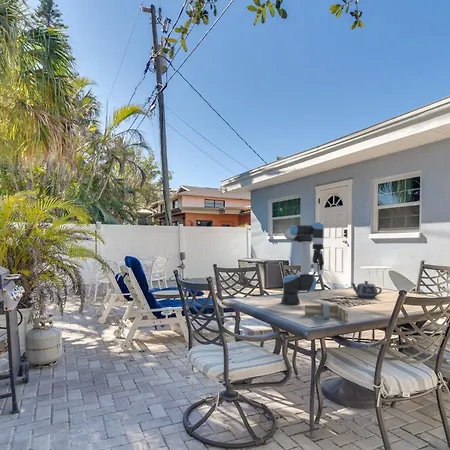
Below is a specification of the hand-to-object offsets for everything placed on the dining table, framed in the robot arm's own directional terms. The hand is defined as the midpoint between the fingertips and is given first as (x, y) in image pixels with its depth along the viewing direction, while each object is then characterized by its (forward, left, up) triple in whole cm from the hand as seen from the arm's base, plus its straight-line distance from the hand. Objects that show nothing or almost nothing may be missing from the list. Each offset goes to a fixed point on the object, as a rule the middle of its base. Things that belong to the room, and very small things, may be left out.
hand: (317, 273), depth 237 cm
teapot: (-73, +64, -30) cm, 102 cm away
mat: (+15, -2, -29) cm, 33 cm away
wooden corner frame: (+11, +1, -29) cm, 31 cm away
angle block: (+15, -2, -29) cm, 33 cm away
